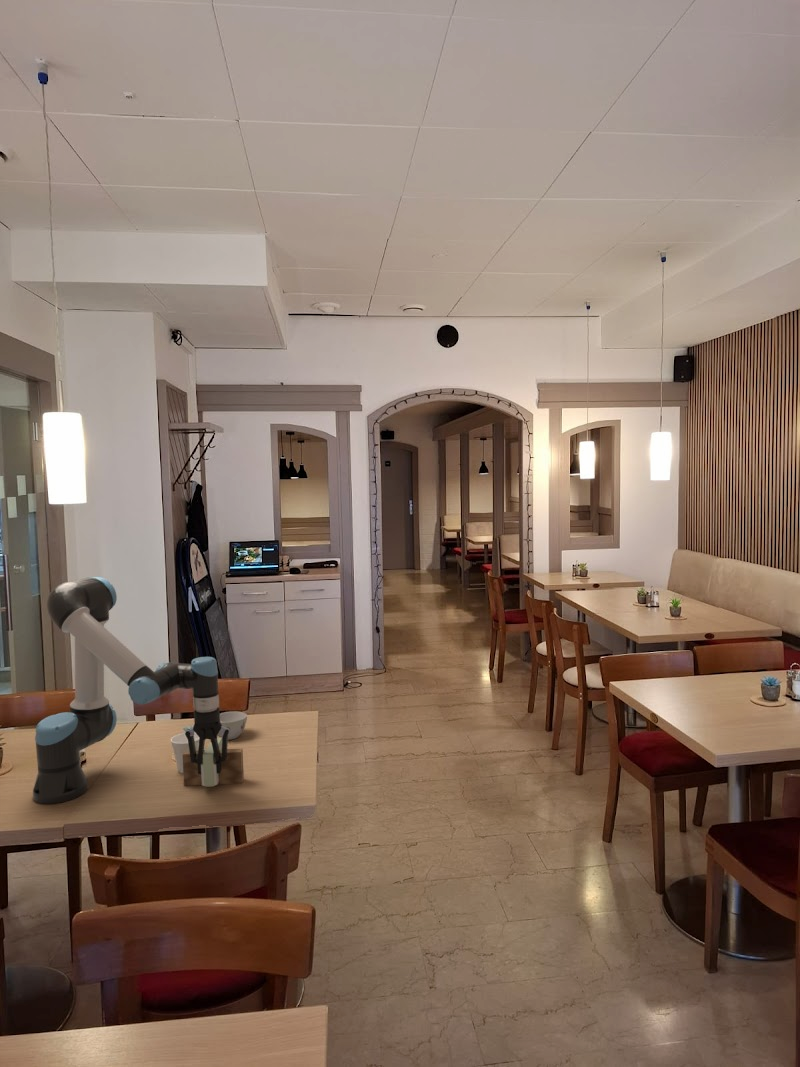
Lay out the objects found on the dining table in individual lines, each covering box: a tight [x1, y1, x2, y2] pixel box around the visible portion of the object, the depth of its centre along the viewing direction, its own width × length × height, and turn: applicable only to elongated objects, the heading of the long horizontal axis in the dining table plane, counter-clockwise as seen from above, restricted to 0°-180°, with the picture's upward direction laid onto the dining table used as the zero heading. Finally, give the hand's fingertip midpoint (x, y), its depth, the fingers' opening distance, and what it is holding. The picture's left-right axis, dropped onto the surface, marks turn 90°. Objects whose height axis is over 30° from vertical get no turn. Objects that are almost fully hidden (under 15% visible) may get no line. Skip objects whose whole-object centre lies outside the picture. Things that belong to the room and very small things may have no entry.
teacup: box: [217, 710, 248, 741], centre depth 261 cm, size 15×12×8 cm
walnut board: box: [182, 748, 245, 786], centre depth 222 cm, size 18×3×10 cm, turn 93°
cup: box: [170, 732, 199, 774], centre depth 232 cm, size 10×10×11 cm
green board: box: [203, 737, 222, 787], centre depth 221 cm, size 14×3×10 cm, turn 3°
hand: (210, 783), depth 216 cm, fingers closed on green board, 3 cm apart
